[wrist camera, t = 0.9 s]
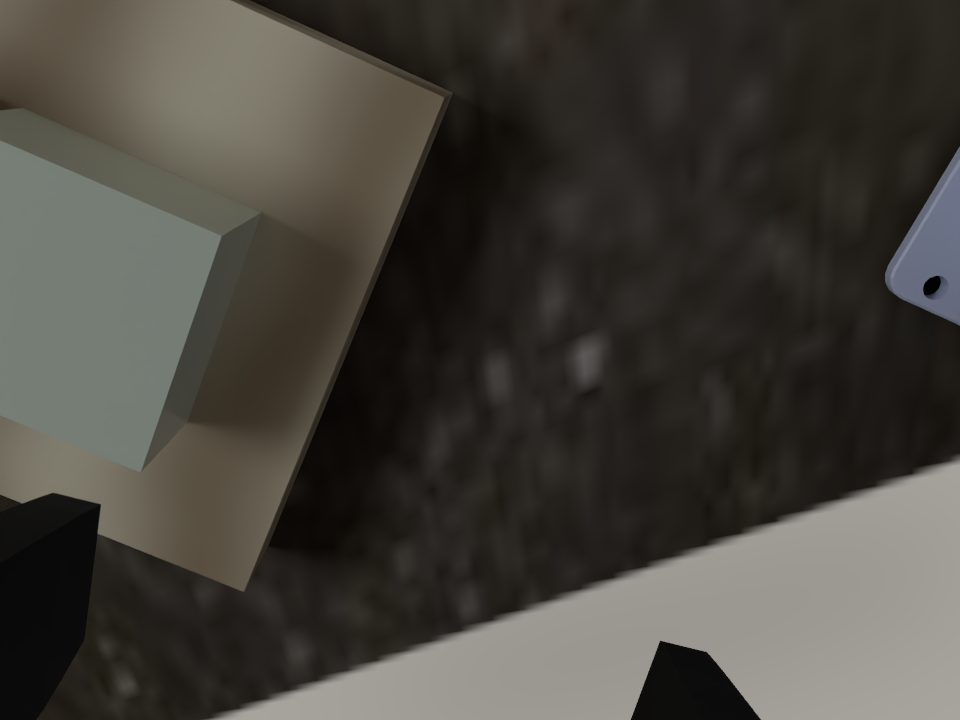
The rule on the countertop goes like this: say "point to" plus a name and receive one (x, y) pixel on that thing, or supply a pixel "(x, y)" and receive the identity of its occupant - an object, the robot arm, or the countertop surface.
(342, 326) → the board
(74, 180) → the tile sage
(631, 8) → the countertop surface
